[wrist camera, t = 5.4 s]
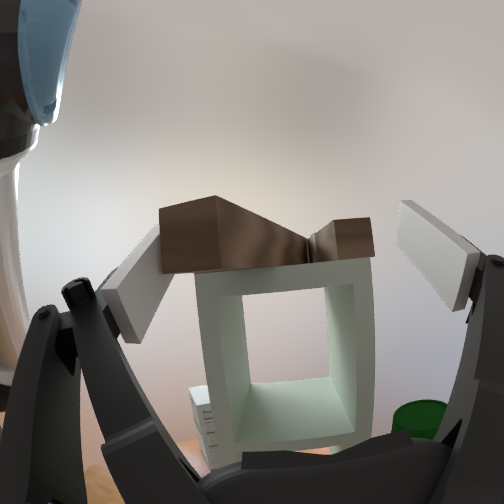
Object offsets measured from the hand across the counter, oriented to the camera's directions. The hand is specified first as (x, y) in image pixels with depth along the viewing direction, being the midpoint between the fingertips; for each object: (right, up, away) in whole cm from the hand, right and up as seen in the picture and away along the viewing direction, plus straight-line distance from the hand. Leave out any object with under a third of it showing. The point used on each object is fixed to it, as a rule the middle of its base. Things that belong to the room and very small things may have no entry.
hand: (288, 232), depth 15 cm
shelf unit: (+4, -32, +10) cm, 34 cm away
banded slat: (+6, -2, +11) cm, 13 cm away
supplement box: (-6, -34, +22) cm, 41 cm away
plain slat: (0, -2, +11) cm, 11 cm away
